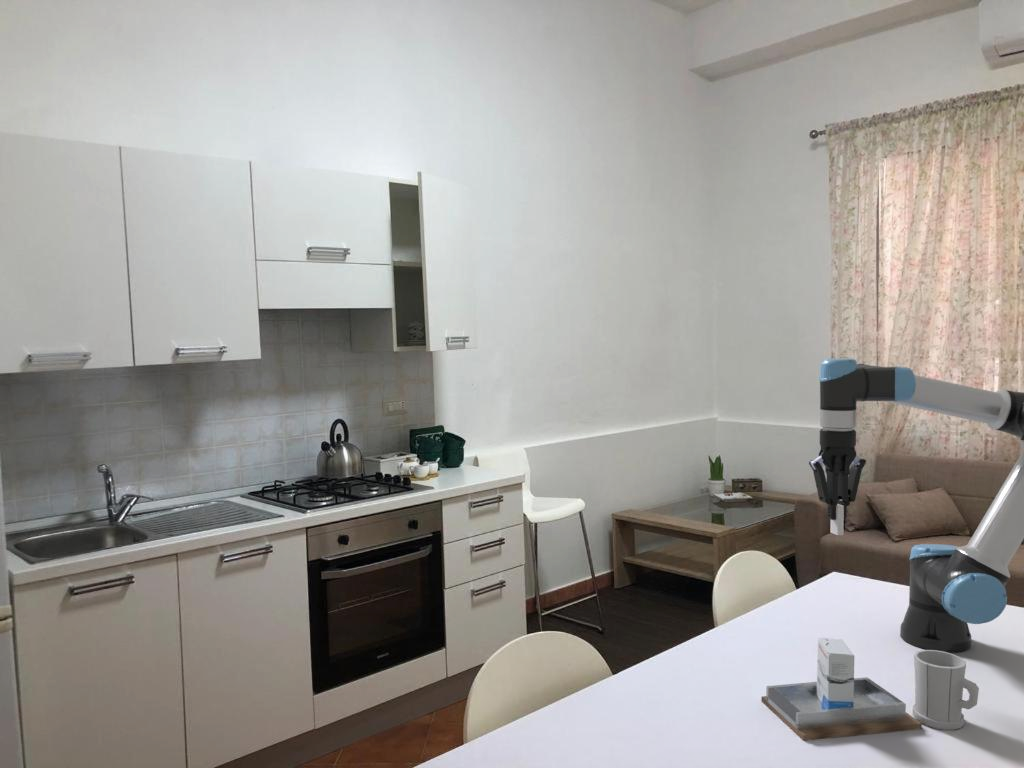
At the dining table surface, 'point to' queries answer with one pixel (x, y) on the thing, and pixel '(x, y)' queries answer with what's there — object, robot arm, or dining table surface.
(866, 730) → the panel
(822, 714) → the metal serving tray
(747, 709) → the dining table surface
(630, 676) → the dining table surface
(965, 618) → the robot arm
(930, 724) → the cup
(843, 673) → the ink box
